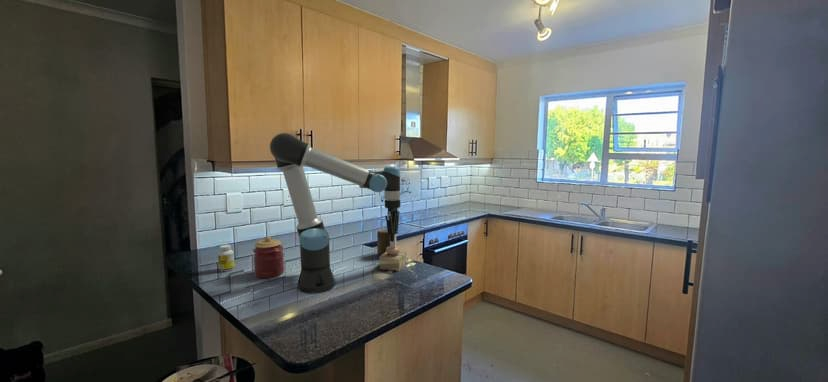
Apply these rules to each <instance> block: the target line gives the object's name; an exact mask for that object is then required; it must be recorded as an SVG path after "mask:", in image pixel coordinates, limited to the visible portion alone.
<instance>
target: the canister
mask: <svg viewBox="0 0 828 382" xmlns="http://www.w3.org/2000/svg"><path fill="white" fill-rule="evenodd" d="M253 246H254V248H253V250H252V253H253V257H252V259H253V268H254V269H253V273H254V277H256V278H259V279H272V278H275V277H276V278H277V277H279V276H281V275H283V274H284V272H285V264H284V263H285V260H284V256H285V254H284V252H283V249H284V246H283V245H282V242H281V241H280V240H278V238H277V239H276V238H271V236H267V235H266V236H265V237H264V239H261V240H258V241H257V242H256V243H254V245H253Z"/></svg>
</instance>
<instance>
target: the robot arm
mask: <svg viewBox="0 0 828 382" xmlns="http://www.w3.org/2000/svg"><path fill="white" fill-rule="evenodd" d="M269 151H270V154H271V155H272V156H273V157H274V161H275V164H276V167H277V169H278V170H281V171H282V173H283V177H284V180H285V183H286V187H287V191H288V193H289V197H290V200H291V203H292V206H293V210H294V214H295V216H296V219H297V223H298V224H297V225H296V231H297V234H298V235H297V236H298V238H299V250H300V251H299V252H300V254H299V255H300V273H299V277H298V280H297V282H296V283H297V284H296V285H297V291H299V292H301V293H304V294H320V293H324V292H326V291H329V290H331V289H333V288H334V287H335V285H336V279H335V276H334V274H333V271H332V268H331V259H330V234H329V232H328V231H327V230H326V229H325V225H324V222H323V219H321V218H320V217H318V214H317V210H316V206H315V203H314V200H313V197H312V192H311V190H310V186H309V182H308V179H307V176H306V172H305V169H304V166H306V167H308V168H311V169H314V170H317V171H320V172H322V173H324V174H328V175H330V176H332V177H335V178H338V179H341V180H343V181H346V182H350V183H351V184H355V185H357V186H358V187H359V188H360V189H368V190H371V191H372V192H374V193H381V192H384V208H386V209H387V213H386V214H387V215H385V221H386V229H387V231H388V235H390V248H396V246H397V235H398V234H399V232H398V231H399V220H400V211H398V209H399V208H400V207H401V200H400V199H401V194H402V192H401V171H400V170H401V169H400V167H398V166H385V167H384V168H383V170H380V171H372V170H369V169H367V168H364V167H362V166H359V165H357V164H354V163H352V162H349V161H346V160H345V159H341V158H339V157H336V156H333V155H331V154H329V153H325V152H323V151H321V150H318V149H316V148H313V147H311V145H310V143H307V142H305V141H302V140H301V139H299V138H298V137H296V136H295V135H293V134H290V133H288V132H282V133H279V134H276V135H275V136H274V137H273V138H272V139H271V141H270V143H269Z"/></svg>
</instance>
